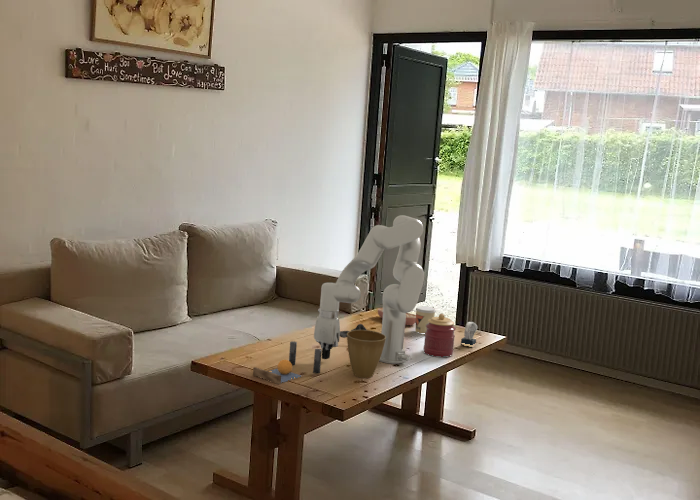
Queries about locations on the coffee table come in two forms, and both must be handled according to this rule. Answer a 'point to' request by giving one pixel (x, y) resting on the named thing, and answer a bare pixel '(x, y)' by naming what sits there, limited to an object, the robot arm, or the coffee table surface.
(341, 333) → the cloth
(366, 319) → the coffee table surface
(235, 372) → the coffee table surface
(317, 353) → the post
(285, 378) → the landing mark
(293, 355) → the post
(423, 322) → the coffee cup
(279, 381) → the backstop
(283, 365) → the ball
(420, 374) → the coffee table surface
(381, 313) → the anatomical model
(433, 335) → the canister
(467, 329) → the grey upright piece
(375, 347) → the plant pot
